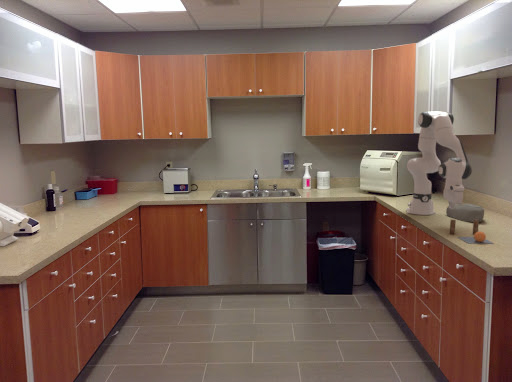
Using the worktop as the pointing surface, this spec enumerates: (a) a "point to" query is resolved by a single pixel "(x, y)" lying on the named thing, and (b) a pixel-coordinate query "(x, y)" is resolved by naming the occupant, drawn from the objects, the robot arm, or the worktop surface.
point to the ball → (479, 236)
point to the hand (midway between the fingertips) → (451, 208)
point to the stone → (466, 212)
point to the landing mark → (472, 240)
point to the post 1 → (452, 227)
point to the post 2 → (475, 226)
